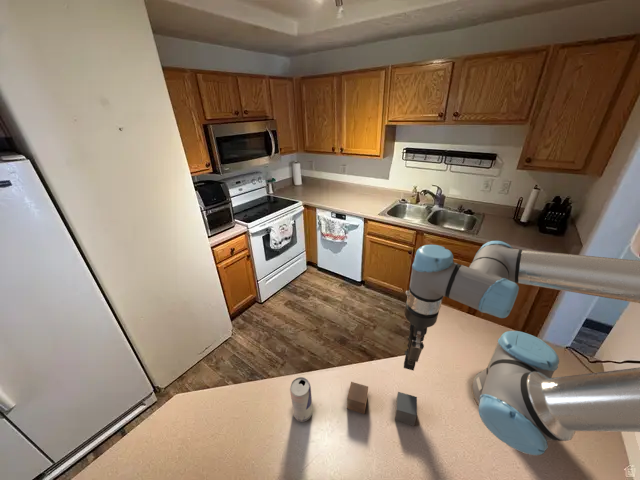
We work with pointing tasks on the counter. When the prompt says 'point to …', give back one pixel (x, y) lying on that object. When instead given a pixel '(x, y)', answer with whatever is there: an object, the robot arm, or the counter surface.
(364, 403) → the walnut block
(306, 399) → the energy drink
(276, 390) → the counter surface
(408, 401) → the grey block
